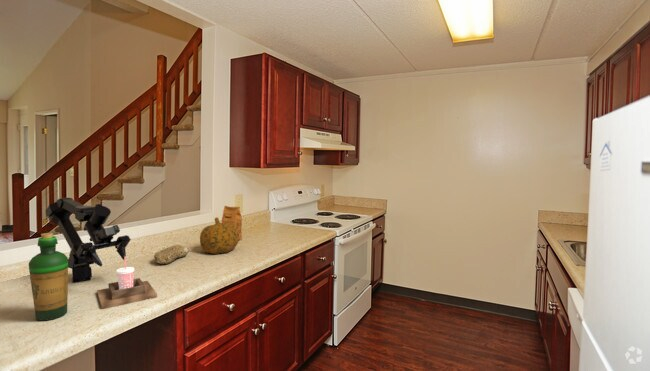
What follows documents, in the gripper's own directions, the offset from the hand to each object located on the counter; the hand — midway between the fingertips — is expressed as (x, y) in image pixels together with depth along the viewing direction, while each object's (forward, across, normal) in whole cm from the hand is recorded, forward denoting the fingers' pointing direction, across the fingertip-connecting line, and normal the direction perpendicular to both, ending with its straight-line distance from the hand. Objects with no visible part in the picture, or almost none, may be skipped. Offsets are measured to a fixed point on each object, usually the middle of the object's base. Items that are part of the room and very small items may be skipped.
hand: (113, 262), depth 141 cm
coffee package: (-8, +87, +24) cm, 90 cm away
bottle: (+11, -23, +6) cm, 26 cm away
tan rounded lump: (-4, +38, +21) cm, 44 cm away
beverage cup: (+13, 0, +2) cm, 13 cm away
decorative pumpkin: (+2, +64, +14) cm, 65 cm away
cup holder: (+14, 0, +2) cm, 14 cm away
